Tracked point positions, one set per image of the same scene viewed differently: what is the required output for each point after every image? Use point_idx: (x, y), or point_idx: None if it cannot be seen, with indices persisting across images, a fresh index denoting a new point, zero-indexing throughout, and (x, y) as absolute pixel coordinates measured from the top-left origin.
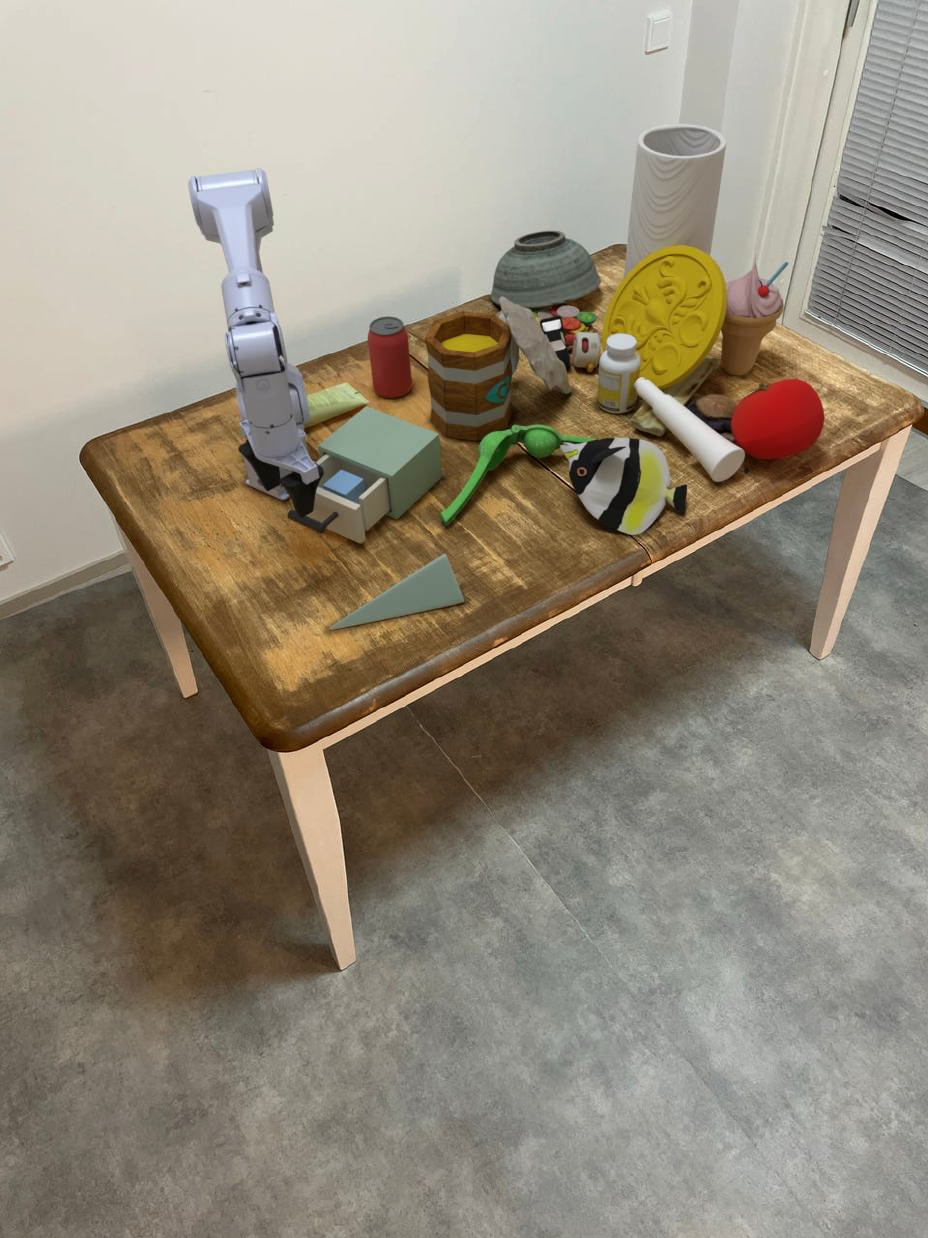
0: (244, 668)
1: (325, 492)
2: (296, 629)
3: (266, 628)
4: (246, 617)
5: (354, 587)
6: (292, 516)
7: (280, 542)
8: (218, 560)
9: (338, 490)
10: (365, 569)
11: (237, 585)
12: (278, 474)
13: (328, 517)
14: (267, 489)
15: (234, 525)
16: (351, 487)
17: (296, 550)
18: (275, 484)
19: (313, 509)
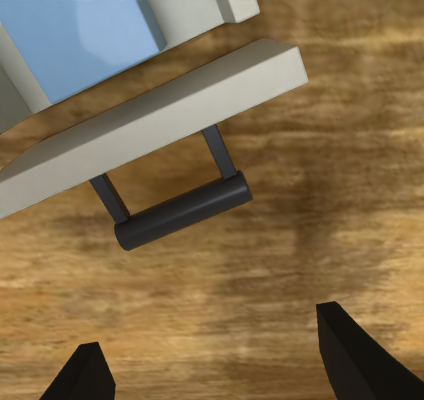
0: None
1: (135, 136)
2: (388, 292)
3: None
4: (295, 347)
5: (377, 146)
6: (146, 243)
7: None
8: (113, 340)
9: (117, 64)
10: (345, 91)
11: (205, 335)
12: (80, 382)
13: (213, 151)
14: (113, 392)
15: (12, 285)
16: (125, 2)
17: None
18: (101, 366)
19: (337, 304)
